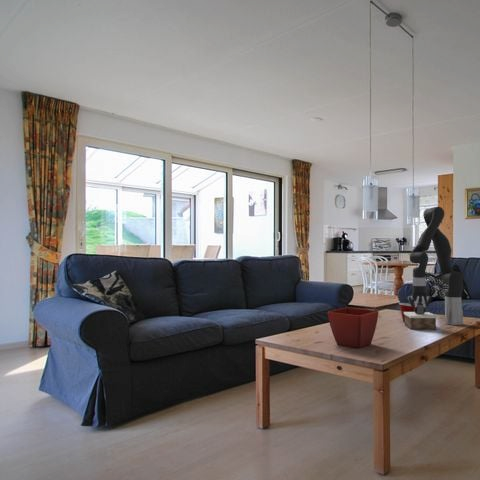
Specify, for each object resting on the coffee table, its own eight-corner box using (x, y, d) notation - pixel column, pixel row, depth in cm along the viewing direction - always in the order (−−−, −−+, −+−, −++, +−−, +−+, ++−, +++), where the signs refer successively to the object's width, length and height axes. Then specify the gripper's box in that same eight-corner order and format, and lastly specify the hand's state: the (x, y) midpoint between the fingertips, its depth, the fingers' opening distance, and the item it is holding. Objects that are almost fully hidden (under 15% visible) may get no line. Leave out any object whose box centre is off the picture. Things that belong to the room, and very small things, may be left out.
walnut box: (428, 325, 258) (428, 314, 258) (436, 330, 244) (435, 318, 244) (404, 325, 260) (404, 313, 260) (411, 329, 246) (411, 317, 246)
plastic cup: (420, 323, 265) (419, 304, 265) (403, 323, 265) (402, 304, 265) (413, 320, 275) (413, 302, 276) (396, 320, 276) (396, 302, 276)
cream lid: (428, 315, 259) (428, 304, 259) (437, 319, 244) (436, 307, 244) (403, 315, 260) (403, 303, 261) (410, 319, 246) (410, 307, 246)
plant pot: (326, 344, 211) (326, 311, 211) (346, 338, 225) (346, 307, 225) (360, 351, 198) (360, 315, 198) (380, 344, 211) (379, 310, 211)
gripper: (429, 284, 255) (429, 312, 255) (405, 284, 257) (405, 312, 257) (433, 285, 248) (434, 314, 248) (408, 285, 250) (409, 314, 249)
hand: (419, 313), depth 252 cm, fingers closed on cream lid, 3 cm apart
